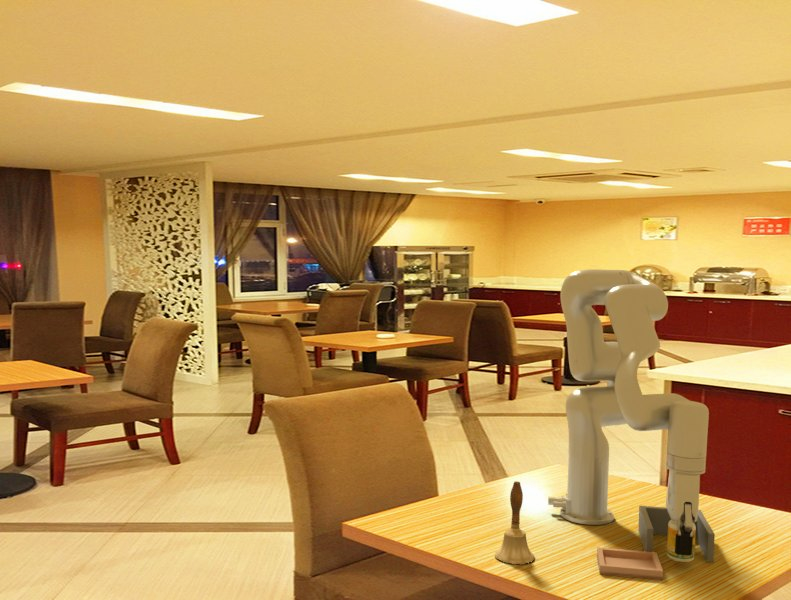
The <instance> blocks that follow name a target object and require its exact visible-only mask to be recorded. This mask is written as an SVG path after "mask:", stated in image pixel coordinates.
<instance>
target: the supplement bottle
mask: <svg viewBox="0 0 791 600" xmlns="http://www.w3.org/2000/svg"><path fill="white" fill-rule="evenodd" d="M680 520H684V517H680ZM682 526H684V523H681V527H682ZM677 530H678V520H675V521H673V520H672V519H671V520H670V521H669V523H668V535H667V541H666V542H667V545H666V546H667V547H666V555H667V557H668V558H669V559H671V560H673V561H676V562H683V563H690V562H692V561H693V560H695V550H696V549H695V547H696V539H695V535H696V526H695V524H694V523H693V543H692V555H691V556H688V555H678V554H676V553H675V539H676V534H678V533H677Z"/></svg>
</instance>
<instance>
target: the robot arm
mask: <svg viewBox="0 0 791 600" xmlns="http://www.w3.org/2000/svg"><path fill="white" fill-rule="evenodd" d="M560 304H561V305H560V306H561V309H562V314H563V317H564V321H565V324H566V337H567V339H566V340H567V353H568V355H567V356H568V364H569V371H570V374H571V375H572V377H573V378H574V379H575V380H577V381H580V382H604V381H606V386H589V387H587V386H586V387H580V388H576V389H574V390H573V391H571V392H570V393H569V395H568V396H567V398H566V400H565V413H566V420H567V427H568V428H567V429H568V459H567V461H568V462H567V463H568V464H567V492H566V493H565V496H561V497H555V496H548V501H547V503H548V505H549V506H552V507H553V508H560V511H559V512H560V516H561V517H562V518H563V519H564V520H566V521H568V522H572V523H576V524H581V525H588V526H589V525H590V526H591V525H593V526H599V525H600V526H601V525H605V524H610V523H611V522H613V521H614V516H615V515H614V512H612V511H611V510H610V509H608V499H609V498H608V495H609V493H608V492H609V467H610V444H609V440H608V439H607V437H606V435H605V434H604V432H603V430H602V428H603V427H609V426H621V425H622V426H623V425H628V427H630V428H631V429H633V430H635V431H638V432H649V431H650V432H651V431H660V430H661V431H665V430H668V431H667V442H666V443H667V445H666V446H667V447H666V462H665V463H666V464H665V467H666V469H667V470H669V471H668V480H667V481H668V482H667V487H666V488H667V490H666V501H665V508H667V511H668V513H669V515H670V518H671V519H672V520H673V521H675V520H678V530H677V533H678V534H676V539H675V553H676V554H678V555H688V556H691V555H692V543H693V523H695V522H696V521H697V517H698V510H699V501H700V476H701V475H702V474H705V473H706V465H707V463H706V462H707V448H708V447H707V446H708V434H709V431H708V429H709V419H710V418H709V417H710V416H709V415H710V412H709V411H710V410H709V408H708V407H707V405H706V404H704V403H703V402H698V401H693V400H690V399H688V398H686V397H684V396H683V395H680V394H679V393H674V392H673V393H669V392H668V393H667V392H666V393H652V394H651V393H649V394H647V393H646V394H643V392H642V390H641V387H640V384H639V380H638V370H639V369H638V368H639V366H640V364H641V363H642V362H643V361H645V360H646V359H649V358H650V357H652V356H654V355H655V354H656V353H657V352H658V351H659V350H660V348H661V342H660V339H659V336H658V334H657V332H656V329H655V326H654V323H653V322H656V321H661V320H662V319H663V318H664V317H665V316H666V315H667V313H668V308H669V301H668V297H667V295H666V293H665V292H664V291H663V289H662V288H661V287H660V286H658V285H657V284H656V283H654V282H653V281H650V280H648V279H646V278H644V277H642V276H640V275H638V274H637V273H634V272H632V271H629V270H625V269H599V268H598V269H597V268H596V269H595V268H594V269H592V268H591V269H590V268H588V269H580V270H576V271H573V272H572V273H570V274H568V275H567V276H566V277H565V279H564V280H563V282H562V285H561V287H560ZM598 305H599V306H605V309H606V313H607V315H608V318H609V321H610V324H611V325H610V326H611V327H612V331H613V333H614V336H615V338H616V341H605V340H604V331H603V329H604V327H603V323H602V320H601V319H600V317H599V315H598V313H597V312H596V311H595V309H594V308H593V307H592V306H598ZM680 517H684V520H680ZM681 523H684V526H682V527H681Z"/></svg>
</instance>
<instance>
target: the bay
mask: <svg viewBox="0 0 791 600" xmlns="http://www.w3.org/2000/svg"><path fill="white" fill-rule="evenodd" d="M704 515H705V514H703V512H702V510H700V509H698V517H697V521H696V522H695V523H694V524H695V526H696V535H695V542H697V545H698V546H699V548H700V550H701V552H702V554H703V557H704V558H705V560H706V562H707V563H714V561H715V560H714V559H715V558H714V557H715V539H716V538H715V536H716V535H715V532H714V531H713V528H712V527H711V525H710V523H709V522H708V520H707V518H706V517H705V516H704ZM670 520H671V518H670V515H669V513H668V511H667V508H666V507H663V506H652V505H651V506H647V505H638V529H637V530H638V535H639V537H640V541H641V543H642V547H643V551H646V552H654V551H653V550H654V549H653V548H654V546H653V545H654V535H658V536H659V535H663V536H668V523H669V521H670Z"/></svg>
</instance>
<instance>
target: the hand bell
mask: <svg viewBox="0 0 791 600" xmlns="http://www.w3.org/2000/svg"><path fill="white" fill-rule="evenodd" d="M509 497H510V498H509V500H510V502H509V503H510V506H511V513H512V514H511V524H510V528H508V529H506V530H505V531H504V532H503V533H504V535H503V540H502V543H501V546H500V547H499V549H497V550H496V552H495V553H494V558H495V557H496V558H497V559H499V560H501V561H503V562H502V563H504V562H507V563H506V564H508V563H513V564H512V565H516V564H520V565H526V564H525V563H528V562H531V561H533V560H534V559H536V557H535V555H534V553H533V552H532V551H531V549H530V548H529V545H528V540H527V533H526V532H525V530H522V529H521V528H520V523H521V522H520V520H521V519H520V512H521V509H522V505H523V502H524V501H523V500H524V495H523V490H522V487H521V481H513V485H512V487H511V490H510V496H509ZM496 558H495V559H496ZM499 560H498V561H499ZM501 561H500V562H501ZM534 561H535V560H534ZM534 561H533V562H534ZM523 563H524V564H523ZM531 563H532V562H531ZM528 564H529V563H528Z"/></svg>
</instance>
